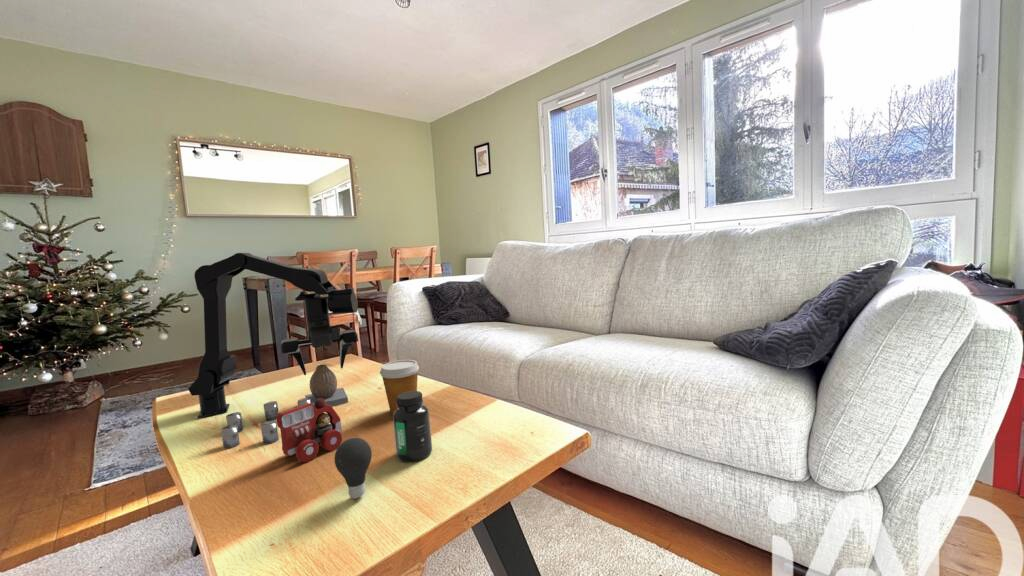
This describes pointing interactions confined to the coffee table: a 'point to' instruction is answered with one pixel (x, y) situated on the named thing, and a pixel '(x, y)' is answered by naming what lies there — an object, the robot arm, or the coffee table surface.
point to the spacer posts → (267, 428)
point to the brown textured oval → (323, 382)
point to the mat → (332, 398)
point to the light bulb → (353, 464)
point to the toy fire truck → (309, 430)
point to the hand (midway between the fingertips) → (323, 371)
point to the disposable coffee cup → (399, 379)
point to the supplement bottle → (412, 427)
